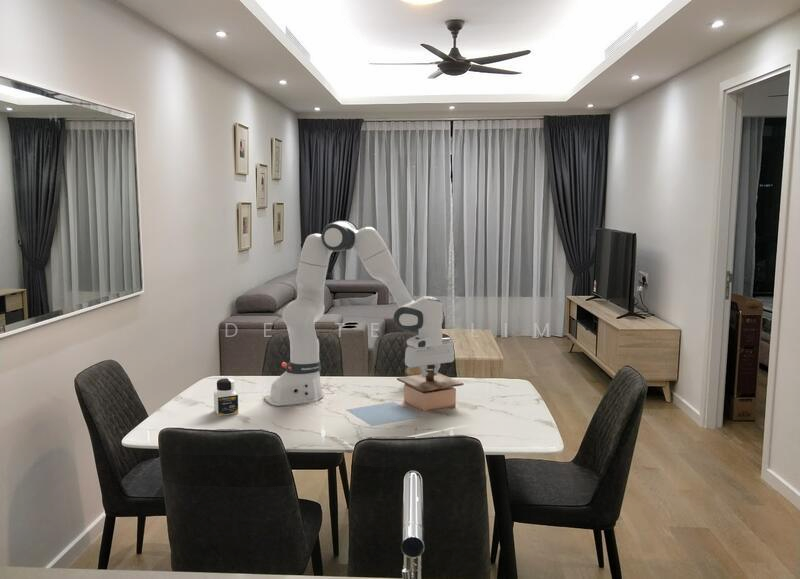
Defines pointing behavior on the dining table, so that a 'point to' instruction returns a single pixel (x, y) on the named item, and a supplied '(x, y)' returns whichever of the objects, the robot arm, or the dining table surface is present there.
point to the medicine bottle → (225, 397)
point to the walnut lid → (430, 381)
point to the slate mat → (383, 413)
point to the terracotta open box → (430, 398)
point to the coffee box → (413, 371)
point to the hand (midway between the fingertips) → (429, 376)
